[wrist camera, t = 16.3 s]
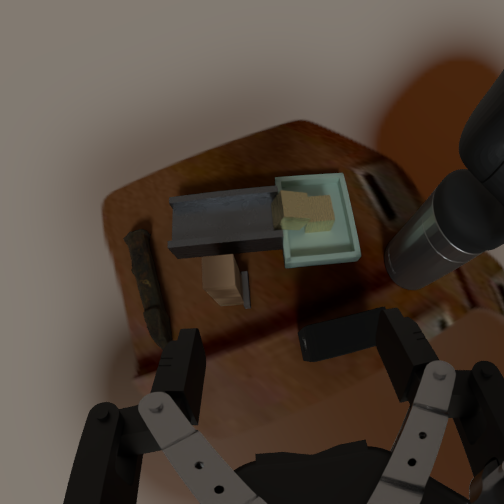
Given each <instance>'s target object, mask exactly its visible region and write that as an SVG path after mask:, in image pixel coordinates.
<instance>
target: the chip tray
mask: <svg viewBox="0 0 504 504" xmlns="http://www.w3.org/2000/svg"><path fill="white" fill-rule="evenodd" d="M275 186H277V187H278V193H279V192H280V190H283V191H293V192H303V193H307V196H308V197H310V196H323V195H330V197H331V201H332V206H333V211H334V216H335V222H334V224H333V226H332V229H331V231H324V232H313V233H305V231H304V226H303V227H302V228H301V229H300V230H284V229H282V230H283V235H284V240H283V256H284V265H285V268H295V267H305V266H316V265H325V264H335V263H345V262H355V261H358V259H359V258H360V257H361V252H360V247H359V242H358V236H357V232H356V227H355V222H354V217H353V213H352V208H351V204H350V199H349V195H348V191H347V187H346V183H345V179H344V175H343V173H332V174H315V175H300V176H287V177H275Z"/></svg>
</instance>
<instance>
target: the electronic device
mask: <svg viewBox="0 0 504 504" xmlns="http://www.w3.org/2000/svg"><path fill="white" fill-rule="evenodd" d="M381 310H386V309H385V307H380V308H376V309H372V310H368V311H365V312H361V313H357V314H353V315H349V316H345V317H341V318H337V319H333V320H329V321H324V322H320V323H316V324H311V325H308V326H305V327H303V328H302V329H301V330H300V331H299V332H298V336H299V341H300V346H301V350H302V355H303V360H304V361H309V362H316V361H321V360H325V359H329V358H333V357H337V356H341V355H345V354H348V353H352V352H356V351H359V350H363V349H366V348H370V347H373V346H376V332H377V326H378V321H379V314H380V311H381Z"/></svg>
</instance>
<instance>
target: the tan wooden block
mask: <svg viewBox="0 0 504 504" xmlns="http://www.w3.org/2000/svg"><path fill="white" fill-rule="evenodd" d="M241 275H242V276H241ZM202 280H203V289H204V290H205V291H206V292H207V293H208V294H209V295H210V296H211V297H212V298H213V299H214V300H215V301H216V302H217V303H218V304H219V305H220V306H229V305H241V304H244V307H245V309H246V308H251V302H250V290H249V278H248V273H247V271H244V272H241V273H240V271H239V268H238V266H237V263H236V260H235V258H234V255H233V254H228V255H218V256H208V257H202Z"/></svg>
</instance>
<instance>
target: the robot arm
mask: <svg viewBox="0 0 504 504" xmlns="http://www.w3.org/2000/svg"><path fill="white" fill-rule="evenodd" d="M459 154H460V157H461V159H462V161H463V163H464V165H465V166H466V167H467V168H468V170H467V169H460V170H456V171H453V172H452V173H450V174H448V175H447V176H446V177H445V178H444V179H443V180H442V182H441V183H440V184H439V185H438V187H437V188H436V189H435V190H434V191H433V193H432V194H431V195H430V196H429V197H428V199H427V200H426V201H425V202H424V204H423V205H422V206H421V207H420V208H419V209H418V211H417V212H416V213H415V214H414V215H413V216H412V217H411V219H410V220H409V221H408V222H407V223H406V224H405V225H404V227H403V228H402V229H401V230H400V231H399V232H398V233H397V234H396V236H395V237H394V238H393V239H392V240H391V241H390V242H389V244H388V246H387V248H386V251H385V257H384V259H385V266H386V269H387V272H388V274H389V276H390V277H391V278H392V280H393V281H394V282H395V283H396V284H397V285H399V286H401V287H402V288H405V289H408V290H416V289H420V288H422V287H425V286H426V285H428V284H430V283H432V282H434V281H436V280H437V279H439V278H441V277H443V276H445V275H446V274H448V273H450V272H451V271H453V270H455V269H457V268H458V267H460V266H462V265H463V264H465V263H467V262H468V261H470V260H471V259H473V258H475V257H476V256H478V255H479V254H481V253H483V252H484V251H486V250H492V249H495V248H497V247H499V246H501V245H502V244H504V70H503V72H502V73H501V74H500V76H499V77H498V79H497V80H496V81H495V83H494V84H493V85H492V87H491V88H490V90H489V91H488V92H487V94H486V95H485V96H484V97H483V99H482V100H481V101H480V103H479V104H478V105H477V107H476V108H475V110H474V111H473V113H472V114H471V116H470V118H469V120H468V121H467V123H466V125H465V127H464V130H463V132H462V135H461V138H460V142H459ZM376 347H377V350H378V352H379V354H380V357H381V359H382V361H383V363H384V366H385V368H386V370H387V373H388V375H389V377H390V380H391V382H392V385H393V387H394V389H395V392H396V394H397V397H398V399H399V401H400V402H405V401H409V403H410V407H409V409H408V412H407V414H406V417H405V419H404V421H403V424H402V426H401V429H400V431H399V433H398V435H397V438H396V440H395V442H394V444H393V446H392V448H391V450H390V451H388V450H385V449H382V448H378V447H369V446H367V443H366V440H362V441H356V442H351V443H346V444H341V445H338V446H335V447H332V448H330V449H328V450H325V451H322V452H320V453H317V454H314V455H306V454H296V453H288V452H278V453H265V454H256V461H253V462H250V463H247V464H245V465H242V466H241V467H239V468H237V469H235V470H234V471H233V470H232V469H231V468H230V466H229V465H228V464H227V463H226V462H225V461H224V460H223V459H222V457H221V456H220V455H219V454H218V453H217V452H216V451H215V449H214V448H212V446H211V445H210V443H209V442H208V441H207V440H206V439H205V437H204V436H203V435H202V434H201V433H200V432H199V431H198V430H195V429H194V427H193V426H192V425H198V421H199V414H200V406H201V398H202V391H203V384H204V376H205V369H206V356H205V351H204V348H203V344H202V340H201V336H200V332H199V330H198V328H193V329H181V330H180V333H179V336H178V340H177V341H170V342H169V343H168V344H167V345H166V346H165V348H164V349H163V352H162V355H161V359H160V362H159V367H158V369H157V372H156V376H155V379H154V383H153V386H152V390H151V393H150V394H148V395H146V396H145V397H143V398H142V400H141V401H140V403H139V405H136V406H132V407H128V408H123V409H118V408H117V407H116V405H114V404H112V403H109V402H104V403H100V404H97V405H95V406H94V407H93V408H92V409H91V410H90V412H89V414H88V417H87V420H86V423H85V426H84V430H83V433H82V436H81V439H80V442H79V446H78V449H77V453H76V456H75V460H74V463H73V467H72V471H71V474H70V478H69V482H68V486H67V490H66V494H65V499H64V503H63V504H136V502H137V494H138V487H139V479H140V472H141V465H142V458H143V454H144V453H150V452H155V451H160V450H162V451H163V452H164V454H165V456H166V457H167V458H168V460H169V462H170V463H171V464H172V466H173V467H174V469H175V470H176V472H177V473H178V475H179V476H180V477H181V479H182V480H183V481H184V483H185V484H186V485H187V487H188V488H189V490H190V491H191V492H192V494H193V495H194V496H195V497H196V499H197V500H198V501H199V502H200V504H504V378H503V376H502V374H501V373H500V371H499V370H498V368H497V367H496V366H495V365H494V364H493V363H491V362H488V361H480V362H477V363H476V364H475V365H474V367H473V369H472V370H454V368H453V367H452V366H451V365H450V364H449V363H447V362H444V361H440V360H439V359H438V357H437V355H436V354H435V352H434V350H433V349H432V347H431V345H430V344H429V342H428V340H427V339H426V338H425V336H424V334H423V332H422V331H421V329H420V328H419V326H418V324H417V323H416V322H414V321H413V320H412V319H410V318H409V317H405V318H404V317H403V316H402V314H401V312H400V311H399V309H398V308H392V309H386V310H381V311H380V314H379V321H378V326H377V332H376ZM448 418H453V420H454V422H455V425H456V428H457V430H458V433H459V435H460V438H461V441H462V443H463V446H464V449H465V452H466V455H467V458H468V460H469V463H470V466H471V469H472V472H473V476H474V478H473V479H472V481H471V483H470V487H469V490H470V491H469V492H470V493H469V498H470V499H469V500H468V499H467V498H465V497H464V496H462V495H460V494H459V493H456V492H455V491H453V490H452V489H450V488H448V487H447V486H445V485H443V484H442V483H440V482H438V481H436V480H435V479H433V478H432V477H430V476H429V475H430V473H431V470H432V467H433V464H434V462H435V459H436V456H437V453H438V450H439V447H440V444H441V441H442V438H443V435H444V431H445V428H446V425H447V421H448Z"/></svg>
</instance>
